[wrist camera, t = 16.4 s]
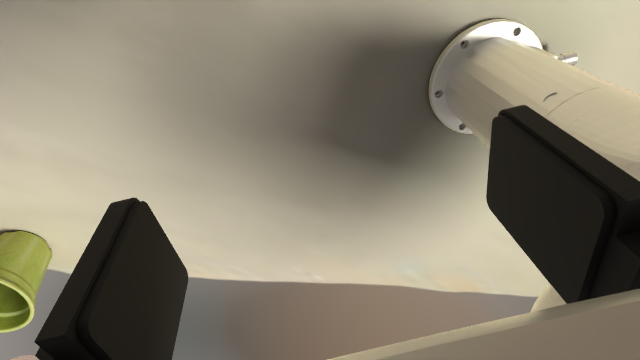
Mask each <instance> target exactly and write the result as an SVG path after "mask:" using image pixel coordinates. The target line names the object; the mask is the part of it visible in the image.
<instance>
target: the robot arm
mask: <svg viewBox="0 0 640 360" xmlns="http://www.w3.org/2000/svg"><path fill="white" fill-rule="evenodd" d="M462 41H463V42H462ZM461 42H462V44H461ZM577 60H578V57H577V54H576V53H575V52H568V53H564V54H560V55H559V56H556V55H554V54H552V53H549V52H547V51H545V50H543V47H542V44H541V42H540V40H539V38H538V37H537V35H536V34H535V33H534V32H533V31H532V30H531V29H530V28H528V27H527V26H525V25H524V24H521V23H518V22H516V21H512V20H507V19H492V20H488V21H484V22H481V23H478V24H476V25H474V26H472V27H470V28H468V29H467V30H465V31H463V32H462V33H460V34H459V35H458V36H457V37H456V38H455V39H454V40H452V41H451V42H450V43H449V44H448V46H447V47H446V48H445V49H444V51H443V52H442V53H441V55H440V56H439V58H438V60H437V62H436V63H435V66H434V68H433V71H432V73H431V77H430V82H429V100H430V105H431V107H432V109H433V112H434V114H435V115H436V116H437V117H438V119H439V120H440V121H441V122H442V123H443V124H444V125H445V126H447V127H448V128H450V129H451V130H453V131H456V132H459V133H465V134H475V135H476V136H477V137H478V138H479V139H480V140H481V141H482V142H483V143H484V144H485V145H486V146H487V147H488V148H489V149H490V155H489V169H488V182H487V196H486V198H487V203H488V206H489V208H490V210H491V211H492V212H493V214H494V215H495V216H496V217H497V219H498V220H499V221H500V222H501V224H502V225H503V226H504V227H505V228H506V230H507V231H508V232H509V233H510V235H511V236H512V237H513V238H514V240H515V241H516V242H517V243H518V245H519V246H520V247H521V248H522V249H523V251H524V252H525V253H526V254H527V256H528V257H529V258H530V259H531V261H532V262H533V263H534V264H535V266H536V267H537V268H538V269H539V270H540V272H541V273H542V274H543V275H544V277H545V278H546V279H547V280H548V282H549V283H550V284H549V285H548V287H547V288H546V289H545V290H544V291H543V292H542V294H541V295H540V296H539V297H538V299H537V300H536V302H535V303H534V306H533V308H532V310H531V312H530V313H526V314H521V315H516V316H512V317H508V318H504V319H499V320H495V321H490V322H486V323H482V324H478V325H473V326H469V327H464V328H460V329H456V330H452V331H447V332H443V333H438V334H434V335H430V336H425V337H421V338H417V339H413V340H408V341H404V342H400V343H396V344H392V345H387V346H383V347H379V348H375V349H370V350H366V351H362V352H357V353H353V354H349V355H344V356H341V357H336V358H332V359H328V360H640V95H638V94H636V93H634V92H632V91H629V90H627V89H624V88H621V87H619V86H617V85H615V84H612V83H610V82H608V81H606V80H603V79H601V78H599V77H597V76H594V75H592V74H590V73H588V72H585V71H583V70H581V69H579V68H576V67H574V66H572V65H575V64H576V63H577ZM436 91H437V93H436ZM187 283H188V273H187V270H186V268H185V266H184V265H183V263H182V261H181V259H180V258H179V256H178V254H177V253H176V251H175V249H174V248H173V246H172V244H171V243H170V241H169V239H168V238H167V236H166V234H165V233H164V231H163V229H162V228H161V226H160V224H159V223H158V221H157V219H156V217H155V216H154V214H153V212H152V211H151V209H150V207H149V206H148V204H147V203H146V202H145V201H141V202H140V201H139V200H138V199H137V198H130V199H126V200H122V201H117V202H113V203H111V204H110V205H109V207H108V209H107V211H106V213H105V214H104V216H103V218H102V220H101V222H100V223H99V225H98V227H97V229H96V231H95V233H94V234H93V236H92V238H91V240H90V242H89V243H88V245H87V247H86V249H85V251H84V253H83V254H82V256H81V258H80V260H79V262H78V263H77V265H76V267H75V269H74V271H73V273H72V274H71V276H70V278H69V280H68V282H67V284H66V285H65V287H64V289H63V291H62V293H61V294H60V296H59V298H58V300H57V302H56V303H55V305H54V307H53V309H52V311H51V313H50V315H49V316H48V318H47V320H46V322H45V323H44V325H43V327H42V329H41V331H40V333H39V334H38V336H37V338H36V340H35V343H36V344H37V345H39V346H40V348H39V350H38V352H37V354H36V355H35V356H31V355H25V356H19V357H16V358H13V359H11V360H172V355H173V350H174V345H175V341H176V336H177V332H178V327H179V322H180V317H181V312H182V308H183V302H184V298H185V293H186V289H187Z"/></svg>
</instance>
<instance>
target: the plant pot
mask: <svg viewBox="0 0 640 360" xmlns="http://www.w3.org/2000/svg"><path fill="white" fill-rule="evenodd" d="M51 257H52V251H51V250H50V249H49V247H48V245H47V243H46V241H45V240H43V239H42V238H40V237H39V236H37V235H34V234H32V233H28V232H24V231H16V232H10V233H8V232H5V233H3V234H1V235H0V332H9V331H13V330H17V329H19V328H22V327H24V326H26V325H27V324H28V323H29V322H30V321H31V320H32V318H33V316H34V313H35V307H34V304H35V296H36V294H37V291H38V288H39V286H40V283H41V281H42V279H43V276H44V274H45V271H46V269H47V267H48V264H49V262H50V260H51Z"/></svg>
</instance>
